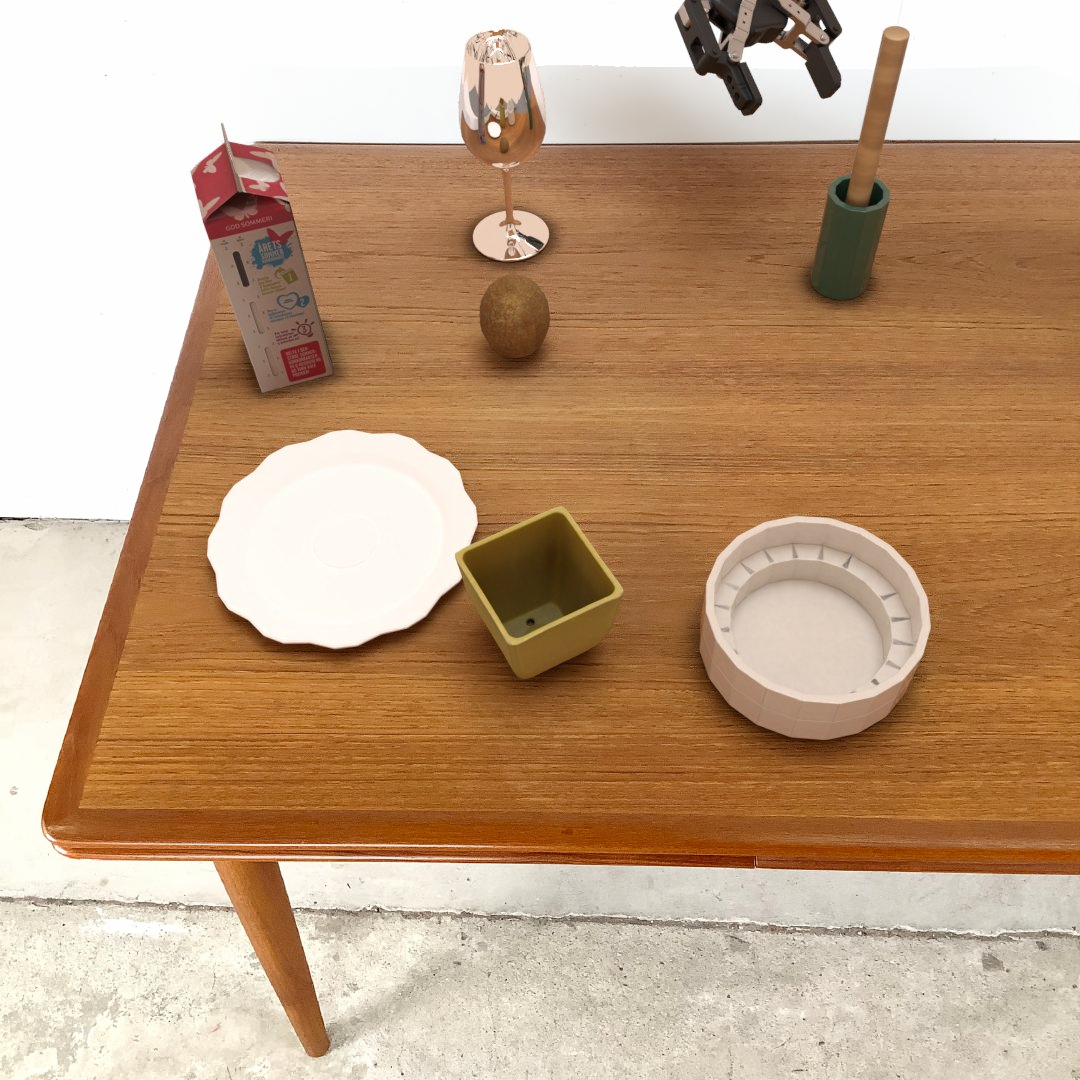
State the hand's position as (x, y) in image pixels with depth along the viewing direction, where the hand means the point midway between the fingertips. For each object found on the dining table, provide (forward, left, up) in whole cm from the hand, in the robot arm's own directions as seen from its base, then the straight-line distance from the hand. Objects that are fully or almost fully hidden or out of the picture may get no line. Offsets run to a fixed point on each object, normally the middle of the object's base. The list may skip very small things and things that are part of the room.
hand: (794, 101), depth 94 cm
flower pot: (+46, +12, -17) cm, 50 cm away
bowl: (+34, +27, -16) cm, 46 cm away
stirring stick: (-1, +7, -16) cm, 17 cm away
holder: (-1, +7, -16) cm, 18 cm away
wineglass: (+14, -21, -17) cm, 30 cm away
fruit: (+25, -10, -17) cm, 31 cm away
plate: (+49, -6, -17) cm, 52 cm away
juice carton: (+39, -25, -17) cm, 49 cm away
